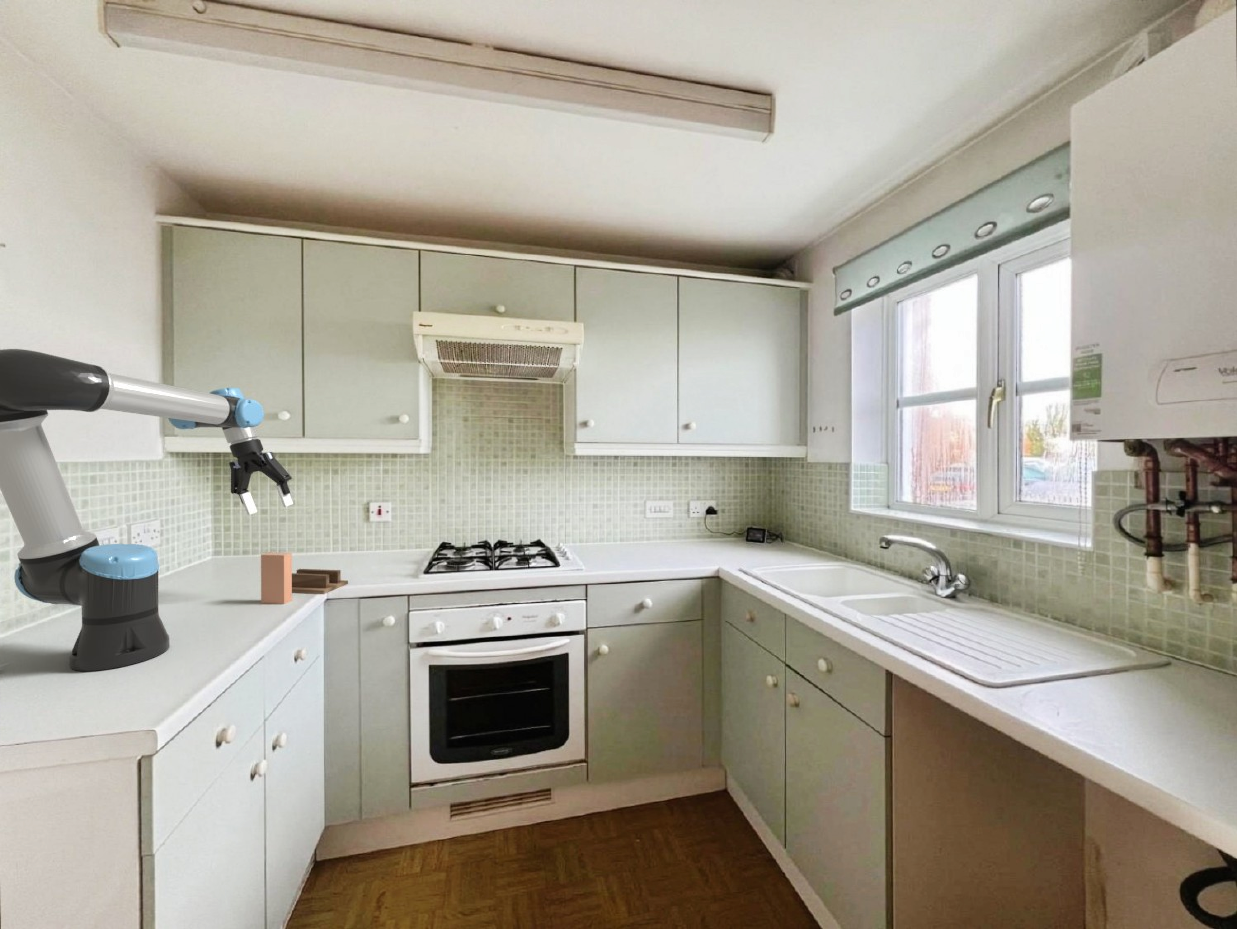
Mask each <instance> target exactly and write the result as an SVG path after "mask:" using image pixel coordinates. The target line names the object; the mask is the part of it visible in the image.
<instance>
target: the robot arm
mask: <svg viewBox="0 0 1237 929" xmlns="http://www.w3.org/2000/svg"><path fill="white" fill-rule="evenodd" d="M99 410H109V411H115V412H122V413H130V414H137V415H144V416H153V417H159V418H167V419H168V421H169V422H170V424H171V425H172V426H173V427H174V428H176V429H179V430H194V429H198V428H221V429H222V431H223V434H224V438H225V440H226V442H227V444H230V445H229V449H230V452H231V455H232V456H233V458H236V459H237V460H234V461H230V462H229V463H228V465H229V468H230V493H231V494H233V495H234V494H235V495H238V497H239V499H240V502H241V504H242V505H243V506H244V509H245V511H246V514H247V516H250V515H253V514H256V513H258V511H259V510H258V509H257V507H256V504H255V501H254V499H253V497H252V494H251V491H250V490H248V488H249V484H250V481H251V477H252V474H254V473H256V472H261V473H263V475H265V476H267V477H268V478H269V479H271V480H272V481H273V482H274V483H276V485H275V487H276V490H277V493H278V495H279V498H280V500H281V503H282V506H283V508H285V507H289V506H292V505H294V501H293V499H292V496H291V490H290V488H289V485H288V483H289V481H291V480H292V479H293V477H292V475H291V474H290V473H289V472H288V471H287V469H285V468H284V467H283V466H282V464H281V463H280V462H279V461H278V460H277V458H276V457H275V455H274V453H273V452H272V451H268V452H264V453H263V451H264V447H263V444H262V442H261V439H259V438H258V437H259V434H258V432H257V429H256V427H257V426H259V425H260V424H261V423H262V422H263V421H264V415H265V412H264V409H263V406H262V405H261V403H260V402H259V401H256V400H255V399H251V398H245V396H244V395H243V393H242V391H241V389H240V388H238V387H233V386H232V387H225V388H219V389H214V390H212V391H210V392H204V391H198V390H193V389H190V388H186V387H178V386H174V385H169V384H164V383H160V382H155V381H149V380H145V379H139V378H134V377H129V376H125V375H121V374H120V375H119V374H116V373H110V372H108V371H107V370H106V369H105V368H103V367H102V366H100V365H95V364H91V363H86V362H83V361H77V360H75V359H70V358H65V357H62V356H58V355H53V354H49V353H44V352H40V351H35V350H30V349H23V348H22V349H20V348H7V349H6V348H5V349H0V491H1V494H2V496H3V498H4V500H5V503H6V505H7V507H8V510H9V512H10V515H11V516H12V519H13V520H14V524H15V526H16V528H17V531H18V533H19V534H20V537H21V540H22V541H23V546H22V548H21V549H20V550H19V551H18V552H17V557H18V560H19V563H18V567H17V569H15V572H14V577H13V578H14V584H15V586H16V588H17V590H18V591H19V592H20V593H21V594H22V595H23V596H25V597H26V598H29V599H31V600H34V601H38V602H42V603H44V604H51V605H71V606H72V605H73V606H80V607H81V628H80V631H79V633H78V636H77V638H76V640H75V642H74V645H73V648H72V651H71V652H70V653H69V654H70V655H69V667H70V669H71V670H74V671H85V672H91V671H101V670H102V671H103V670H104V671H105V670H110V669H117V668H122V667H126V666H130V665H134V664H137V663H141V662H144V661H148V660H150V659H153V658H155V657H158V656H159V655H161V654H164V653H165V652H167V651H168V650H169V649H170V635H169V634H168V632H167V629H166V627H165V625H164V623H163V621H162V619H161V616H160V615H159V614H160V613H159V568H160V563H159V559H158V552H157V551H156V550H155V548H153V547H151V546H148V545H143V544H137V543H128V544H127V543H126V544H125V543H110V544H101V545H100V543H99V539H98V538H97V535H96V534H95V533H94V532H90V531H87V530H84V529H83V526H82V524H81V522H80V519H79V516H78V514H77V511H76V509H75V506H74V504H73V502H72V499H71V497H70V494H69V492H68V489H67V486H66V484H65V482H64V478H63V476H62V474H61V472H60V468H59V466H58V464H57V463H58V462H57V460H56V458H55V456H54V454H53V450H52V449H51V446H50V443H49V440H48V438H47V436H46V433H45V430H44V428H43V426H42V424H43V422H44V421H45V420H46V418H47V417H48V416H49V412H48V411H75V412H76V411H77V412H78V411H79V412H87V413H93V412H97V411H99Z"/></svg>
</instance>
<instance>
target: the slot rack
mask: <svg viewBox="0 0 1237 929" xmlns="http://www.w3.org/2000/svg"><path fill="white" fill-rule="evenodd" d="M341 573H342V570H340V569H316V568H315V569H313V568H312V569H311V568H299V569H298V568H297V569H296V573H295V572H294V573H293V572H292V594H313V595H315V594H316V595H318V594H319V595H325V594H327V593H330V592H332V591H335V590H336V589H339V588H341V587H343V586H346V585H348V584H349V580H341V578H342V576H341V575H342V574H341Z"/></svg>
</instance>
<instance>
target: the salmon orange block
mask: <svg viewBox="0 0 1237 929" xmlns="http://www.w3.org/2000/svg"><path fill="white" fill-rule="evenodd" d="M292 555H293V554H292V553H291V552H289V553H288V552H267V553H266V552H265V553H262V554H260V604H274V605H275V604H276V605H278V604H279V605H286V604H288V603H290V602H292V601H293V595H292V594H293V593H292V573H293V571H292V570H293V569H292V568H293V567H292V566H293V562H292V560H293V559H292V557H293V556H292Z"/></svg>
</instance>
